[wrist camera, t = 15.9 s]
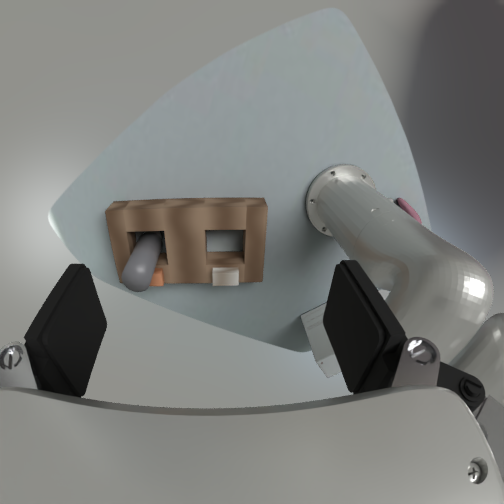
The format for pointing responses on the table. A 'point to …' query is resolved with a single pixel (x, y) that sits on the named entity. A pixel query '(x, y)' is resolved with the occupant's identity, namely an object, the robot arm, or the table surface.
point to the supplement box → (320, 341)
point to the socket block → (192, 237)
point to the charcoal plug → (142, 261)
